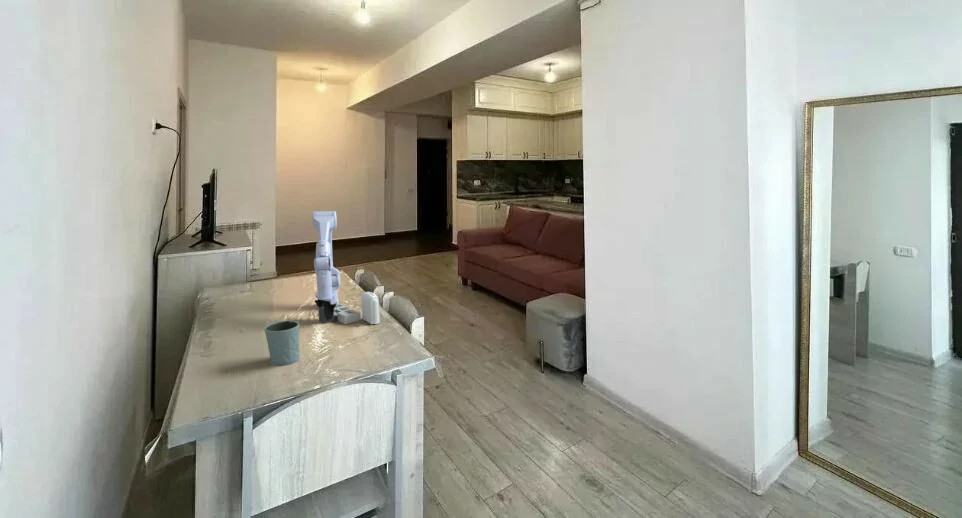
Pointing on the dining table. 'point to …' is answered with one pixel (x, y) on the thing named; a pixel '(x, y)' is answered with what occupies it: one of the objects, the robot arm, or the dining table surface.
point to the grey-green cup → (283, 342)
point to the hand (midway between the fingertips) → (326, 317)
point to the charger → (323, 317)
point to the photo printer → (370, 308)
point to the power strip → (346, 314)
